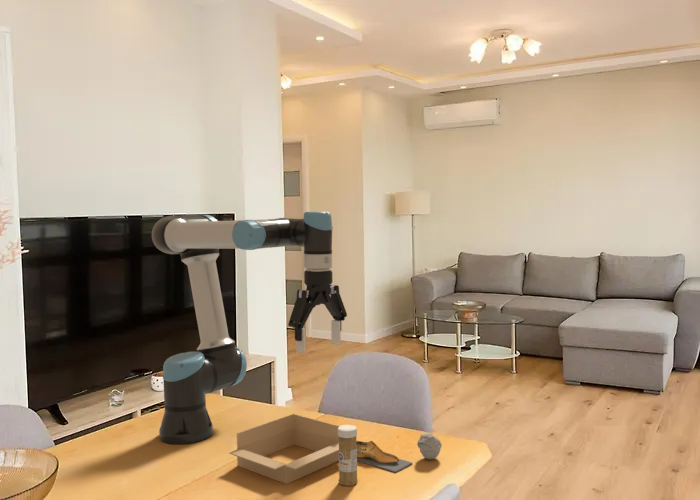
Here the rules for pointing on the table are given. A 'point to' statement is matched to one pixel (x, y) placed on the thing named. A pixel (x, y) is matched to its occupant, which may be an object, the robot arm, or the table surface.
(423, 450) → the grey rough lump
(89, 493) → the table surface
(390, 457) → the shoe last
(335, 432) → the carton
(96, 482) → the table surface
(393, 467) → the mat
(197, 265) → the robot arm
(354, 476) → the sprinkles bottle
